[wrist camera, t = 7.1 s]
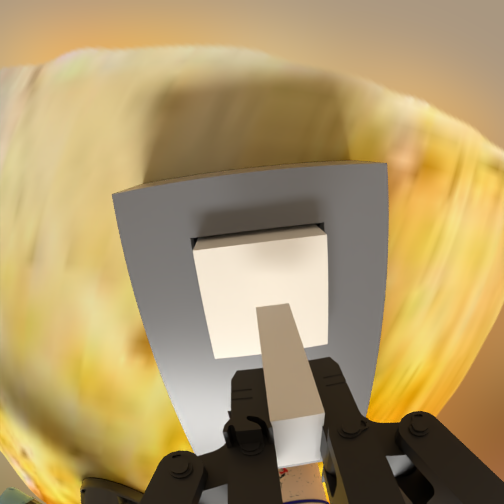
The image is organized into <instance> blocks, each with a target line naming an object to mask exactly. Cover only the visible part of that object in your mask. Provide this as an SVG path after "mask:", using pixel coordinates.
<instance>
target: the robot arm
mask: <svg viewBox="0 0 504 504" xmlns="http://www.w3.org/2000/svg"><path fill="white" fill-rule="evenodd" d="M256 314H257V322H258V330H259V339H260V347H261V355H262V363H263V368H256V369H247V370H238V371H236V373H235V374H234V376H233V378H232V379H231V419H229V420H228V422H227V423H226V424H225V425H224V428H223V436H224V439H225V442H226V443H225V444H224V445H223V446H222V447H221V448H219V449H217V450H215V451H212V452H209V453H206V454H203V455H199V456H197V455H196V454H194V453H192V452H189V451H176V452H172V453H170V454H168V455H167V456H165V457H164V458H163V459H162V460H161V462H160V463H159V465H158V467H157V469H156V471H155V473H154V475H153V477H152V479H151V481H150V483H149V485H148V487H147V489H146V491H145V493H144V494H142V493H140V492H138V491H136V490H134V489H131V488H129V487H126V486H123V485H121V484H118V483H114V482H111V481H107V480H103V479H97V478H86V479H84V480H83V482H82V485H81V489H80V492H81V504H283V500H282V493H281V486H280V479H279V472H278V467H279V466H286V465H293V464H300V463H305V462H311V461H316V460H320V457H321V456H322V460H323V464H324V465H323V472H322V482H325V483H326V488H327V492H328V496H329V500H330V504H504V482H503V481H502V480H501V479H500V478H499V477H498V476H497V475H495V473H493V472H492V471H491V470H490V469H489V468H488V467H487V466H486V465H485V464H484V463H483V462H482V461H481V460H480V459H479V458H478V457H477V456H476V455H475V454H473V453H472V452H471V451H470V450H469V449H468V448H467V447H466V446H465V445H464V444H463V443H462V442H461V441H459V439H457V438H456V436H454V435H453V434H452V433H451V432H450V431H449V430H448V429H447V428H446V427H445V426H444V425H443V424H442V423H441V422H440V421H439V420H438V419H436V418H435V417H434V416H433V415H431V414H430V413H427V412H423V411H417V412H412V413H409V414H407V415H406V416H404V417H403V418H402V419H401V421H400V423H377V422H373V421H370V420H369V419H368V418H366V417H364V416H363V415H362V414H361V413H360V411H359V409H358V407H357V405H356V402H355V400H354V398H353V395H352V393H351V391H350V389H349V386H348V384H347V383H346V380H345V377H344V375H343V373H342V371H341V368H340V366H339V364H338V363H337V362H335V361H334V360H333V359H332V358H331V357H325V358H319V359H314V360H308V359H307V356H306V353H305V350H304V347H303V344H302V341H301V338H300V335H299V332H298V329H297V326H296V323H295V320H294V317H293V314H292V311H291V308H290V305H289V303H285V304H278V305H270V306H262V307H256ZM0 504H42V503H40V502H38V501H37V500H35V498H33V497H30V496H28V495H27V494H25V493H23V492H22V491H20V490H19V489H17V488H14V487H10V488H7V489H6V490H5V491H4V492H3V494H2V495H1V496H0Z"/></svg>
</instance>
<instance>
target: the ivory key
mask: <svg viewBox="0 0 504 504" xmlns="http://www.w3.org/2000/svg"><path fill="white" fill-rule="evenodd" d="M193 255H194V261H195V266H196V272H197V277H198V282H199V287H200V292H201V297H202V302H203V307H204V312H205V317H206V322H207V326H208V331H209V335H210V340H211V344H212V349H213V353H214V357H215V359H220V358H231V357H241V356H250V355H258V354H261V347H260V339H259V330H258V322H257V314H256V307H262V306H270V305H278V304H285V303H289V305H290V308H291V311H292V314H293V317H294V320H295V323H296V326H297V329H298V332H299V335H300V338H301V341H302V344H303V347H304V348H307V347H313V346H319V345H325V344H328V249H327V234H326V233H325V232H324V231H322V230H321V229H320V228H319V227H318V226H317V225H316V224H315V223H313V224H304V225H295V226H286V227H277V228H268V229H260V230H252V231H243V232H235V233H227V234H219V235H211V236H203V237H199V238H198V240H197V242H196V244H195V247H194V249H193Z"/></svg>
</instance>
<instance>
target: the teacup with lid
mask: <svg viewBox="0 0 504 504" xmlns="http://www.w3.org/2000/svg"><path fill="white" fill-rule="evenodd" d="M278 472H279V479H280V486H281V493H282V500H283V504H329V503H328V502H327V500H326V496H325V492H324V488H323V484H322V480H321V476H320V472H319V468H318V464H317V462H316V463H311V464H305V465H300V466H293V467H287V468H279V469H278Z"/></svg>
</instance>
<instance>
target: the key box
mask: <svg viewBox="0 0 504 504" xmlns="http://www.w3.org/2000/svg"><path fill="white" fill-rule="evenodd" d="M112 198H113V203H114V209H115V214H116V219H117V224H118V229H119V234H120V238H121V243H122V247H123V252H124V256H125V260H126V264H127V268H128V272H129V276H130V280H131V284H132V287H133V291H134V295H135V298H136V302H137V305H138V308H139V312H140V315H141V318H142V322H143V325H144V328H145V331H146V334H147V337H148V340H149V343H150V346H151V349H152V352H153V355H154V358H155V360H156V363H157V366H158V369H159V371H160V374H161V377H162V379H163V382H164V384H165V387H166V389H167V392H168V394H169V397H170V399H171V402H172V404H173V407H174V409H175V411H176V414H177V416H178V418H179V421H180V423H181V425H182V427H183V430H184V432H185V434H186V436H187V438H188V440H189V442H190V445H191V447H192V449H193V451H194V453H195V454H196V455H197V456H199V455H203V454H206V453H209V452H212V451H215V450H217V449H219V448H221V447H222V446H223V445H224V444H225V443H226V442H225V439H224V436H223V428H224V425H225V424H226V423H227V422H228V420H229V419H231V379H232V378H233V376H234V374H235V373H236V371H238V370H247V369H256V368H263V363H262V355H261V354H258V355H250V356H241V357H231V358H220V359H215V357H214V353H213V349H212V344H211V340H210V335H209V331H208V326H207V322H206V317H205V312H204V307H203V302H202V297H201V292H200V287H199V282H198V277H197V272H196V266H195V261H194V255H193V249H194V247H195V244H196V242H197V240H198V238H199V237H203V236H211V235H219V234H227V233H235V232H243V231H252V230H260V229H268V228H277V227H286V226H295V225H304V224H313V223H315V224H316V225H317V226H318V227H319V228H320V229H321V230H322V231H324V232H325V233H326V234H327V249H328V344H325V345H319V346H313V347H307V348H304V350H305V353H306V356H307V359H308V360H314V359H319V358H325V357H331V358H332V359H333V360H334V361H335V362H337V363H338V364H339V366H340V368H341V371H342V373H343V375H344V377H345V380H346V383H347V384H348V386H349V389H350V391H351V393H352V395H353V398H354V400H355V402H356V405H357V407H358V409H359V411H360V413H361V414H362V415H363V416H364V417H366V414H367V409H368V405H369V400H370V395H371V390H372V385H373V380H374V375H375V369H376V363H377V357H378V350H379V343H380V336H381V328H382V320H383V311H384V301H385V290H386V276H387V258H388V220H389V211H388V173H387V163H380V162H368V161H355V160H344V161H324V162H309V163H296V164H284V165H273V166H263V167H253V168H244V169H236V170H228V171H220V172H213V173H206V174H199V175H192V176H186V177H179V178H173V179H167V180H162V181H156V182H151V183H145V184H141V185H138V186H135V187H132V188H129V189H126V190H123V191H120V192H117V193H114V194H112ZM321 461H323V460H322V456H321V457H320V460H316V461H311V462H305V463H300V464H293V465H286V466H279V467H278V469H279V468H287V467H293V466H300V465H305V464H311V463H316V462H321Z"/></svg>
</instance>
